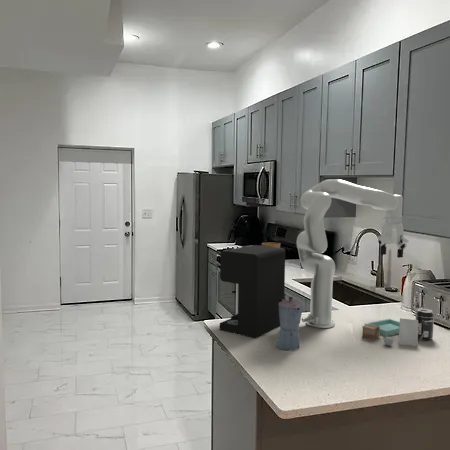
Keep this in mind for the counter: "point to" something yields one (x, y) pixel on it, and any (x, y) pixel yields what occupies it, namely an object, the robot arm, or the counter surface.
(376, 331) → the walnut block
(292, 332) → the moka pot
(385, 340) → the grey ball
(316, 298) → the robot arm
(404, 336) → the white box
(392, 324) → the tray
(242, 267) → the coffee maker
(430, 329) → the beverage can
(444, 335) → the counter surface
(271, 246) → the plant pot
